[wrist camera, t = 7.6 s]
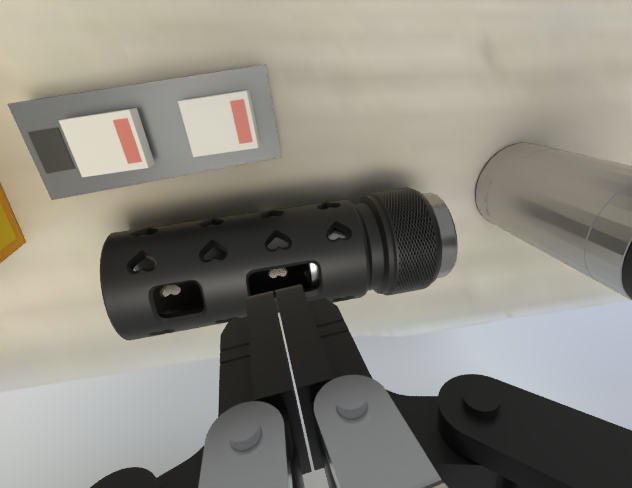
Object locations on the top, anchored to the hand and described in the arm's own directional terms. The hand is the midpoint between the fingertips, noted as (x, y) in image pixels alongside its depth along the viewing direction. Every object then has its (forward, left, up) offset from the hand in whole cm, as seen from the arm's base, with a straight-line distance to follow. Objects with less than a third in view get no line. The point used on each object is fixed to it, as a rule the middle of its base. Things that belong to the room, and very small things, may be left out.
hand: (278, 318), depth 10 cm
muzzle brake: (-2, +9, -27) cm, 29 cm away
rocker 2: (+1, -3, -22) cm, 23 cm away
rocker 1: (+9, -3, -22) cm, 24 cm away
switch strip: (+6, -3, -27) cm, 28 cm away
